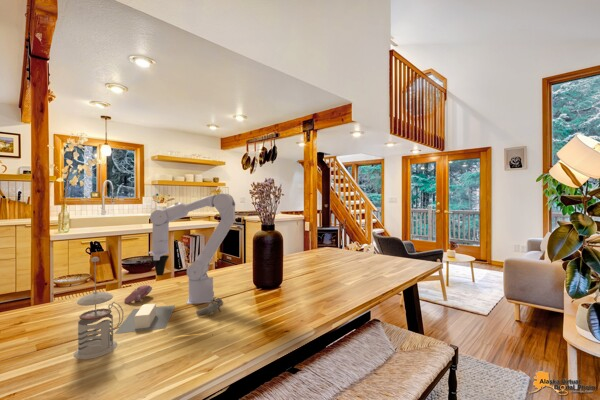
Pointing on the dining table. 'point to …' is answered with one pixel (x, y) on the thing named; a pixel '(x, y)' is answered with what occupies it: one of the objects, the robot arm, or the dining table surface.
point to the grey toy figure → (211, 307)
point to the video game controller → (138, 293)
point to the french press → (95, 325)
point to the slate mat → (157, 323)
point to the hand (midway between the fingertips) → (160, 275)
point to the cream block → (145, 316)
